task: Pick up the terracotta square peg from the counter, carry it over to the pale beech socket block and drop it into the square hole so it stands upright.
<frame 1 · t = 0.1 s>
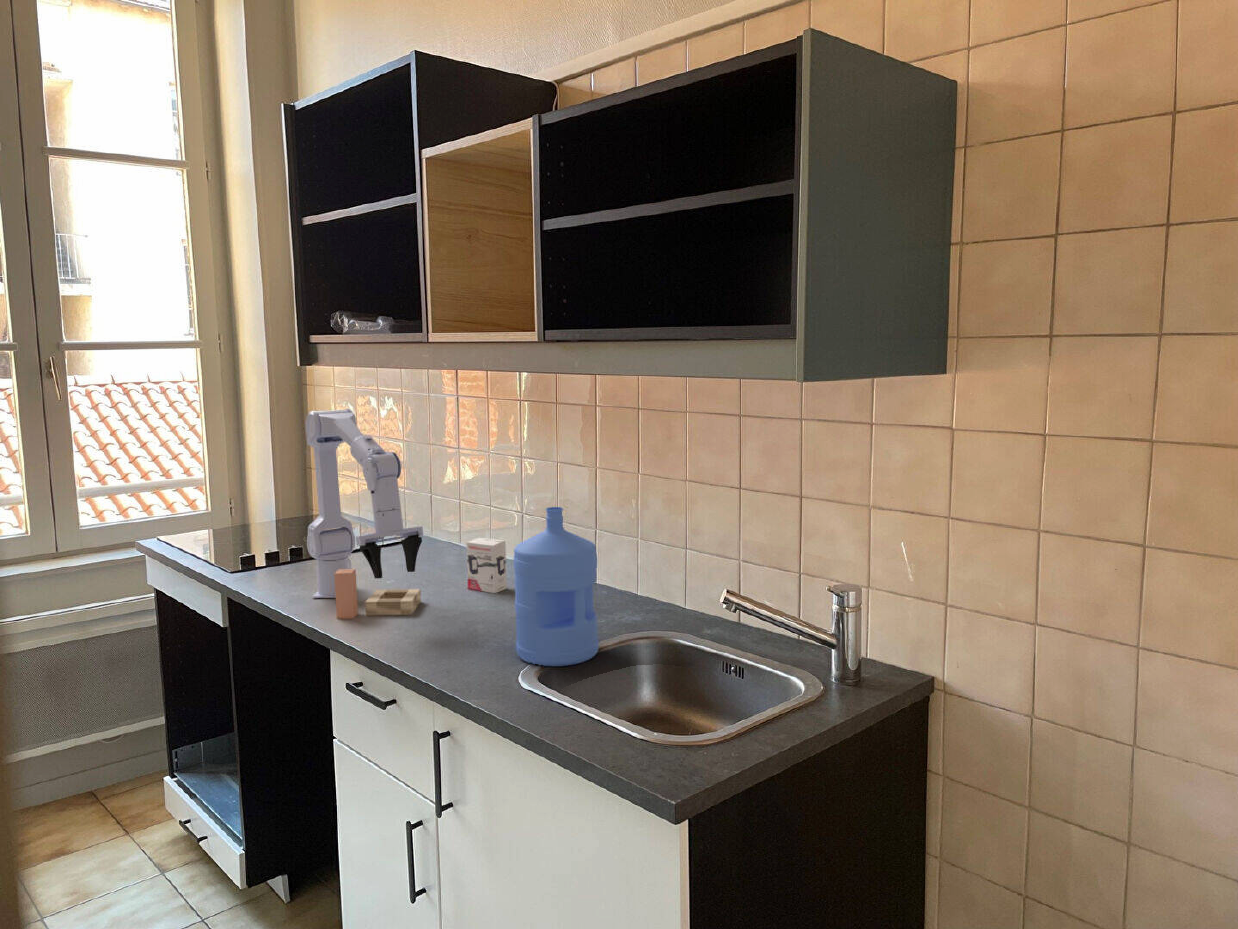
hand: (395, 574, 195), 11 cm above the worktop, tool pointing down, fingers open, 7 cm apart
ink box: (487, 589, 222), on the worktop
peg: (347, 616, 202), on the worktop
socket block: (394, 608, 207), on the worktop
water jug: (557, 654, 176), on the worktop
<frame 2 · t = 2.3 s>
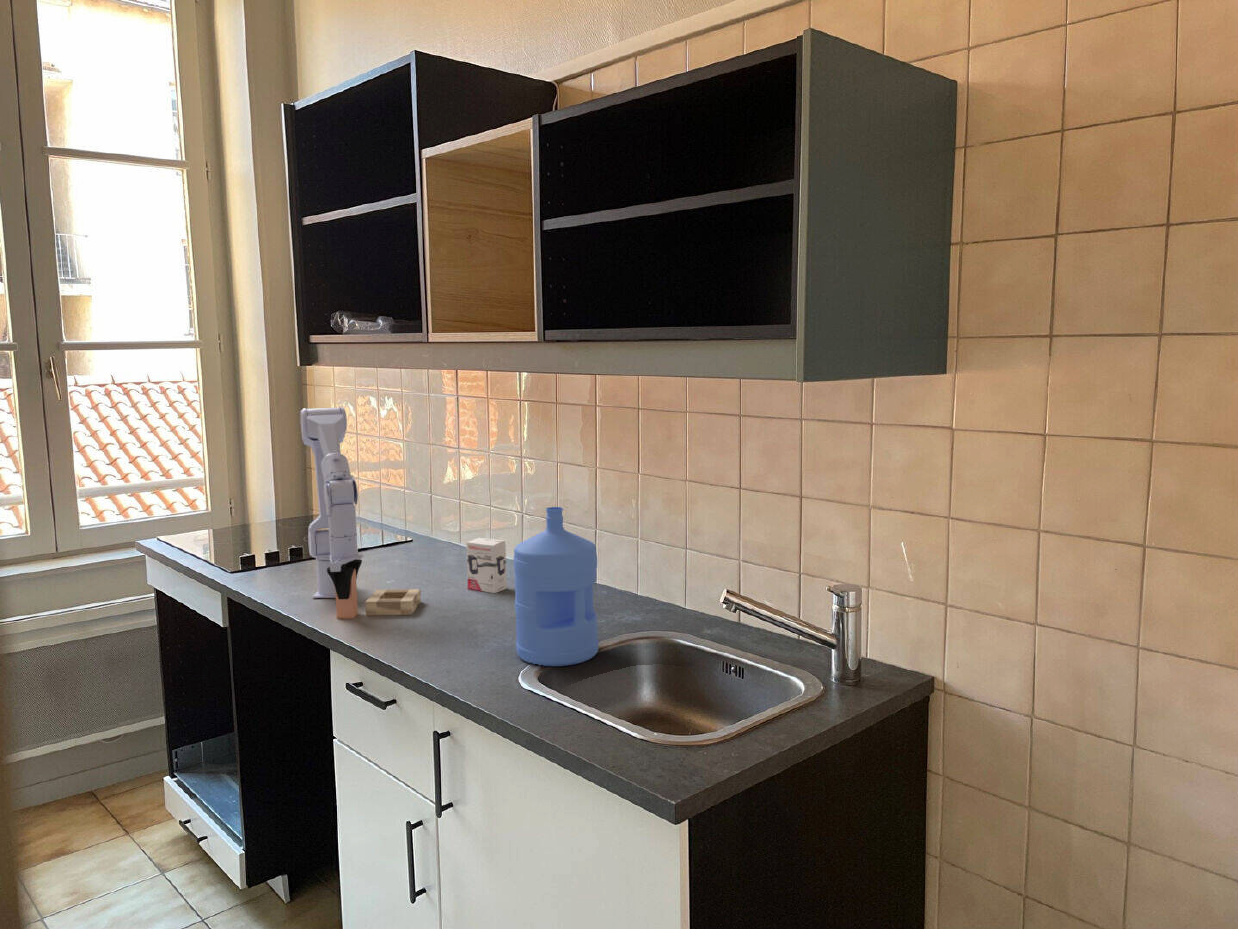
hand: (346, 596, 201), 4 cm above the worktop, tool pointing down, fingers closed on peg, 4 cm apart
peg: (347, 615, 202), on the worktop, touching gripper
everything else where it was.
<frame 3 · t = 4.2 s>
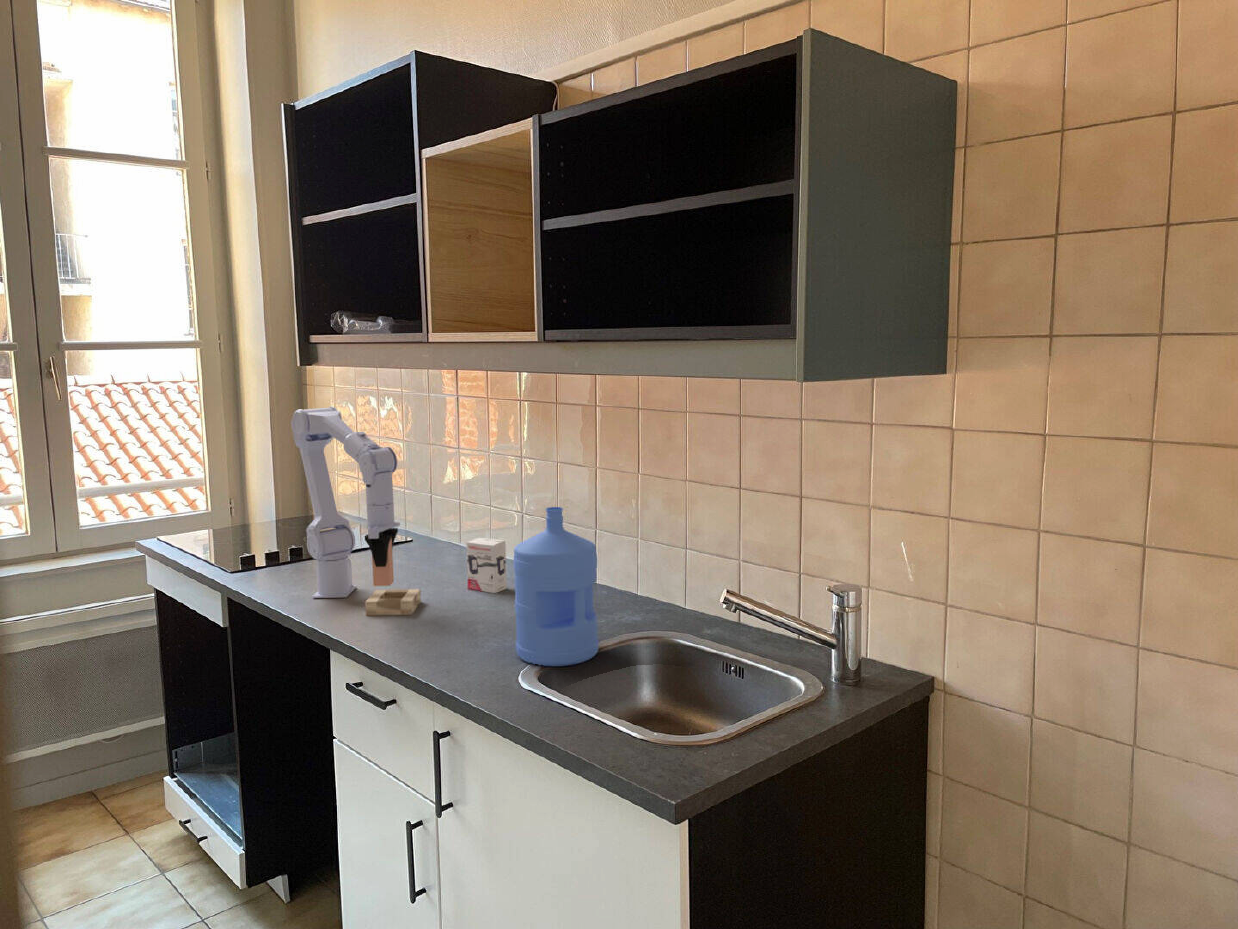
hand: (383, 564, 205), 10 cm above the worktop, tool pointing down, fingers closed on peg, 4 cm apart
peg: (383, 583, 205), point 6 cm above the worktop, touching gripper
everything else where it was.
when the fingers open (6 cm above the worktop, at t = 5.9 s): peg drops 1 cm, resting in socket block.
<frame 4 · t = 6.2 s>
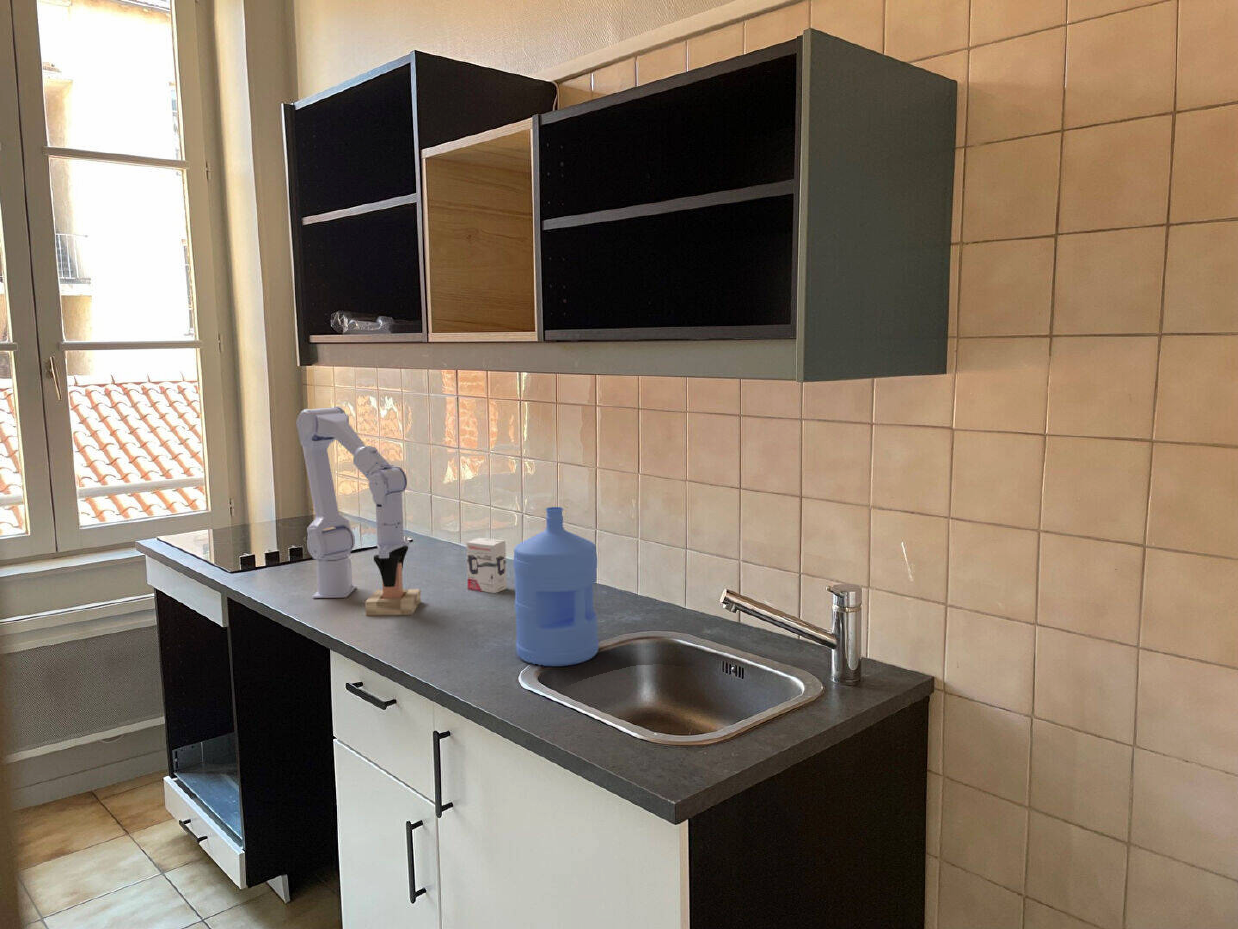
hand: (392, 582, 206), 6 cm above the worktop, tool pointing down, fingers open, 6 cm apart
peg: (393, 608, 207), resting in socket block
everything else where it was.
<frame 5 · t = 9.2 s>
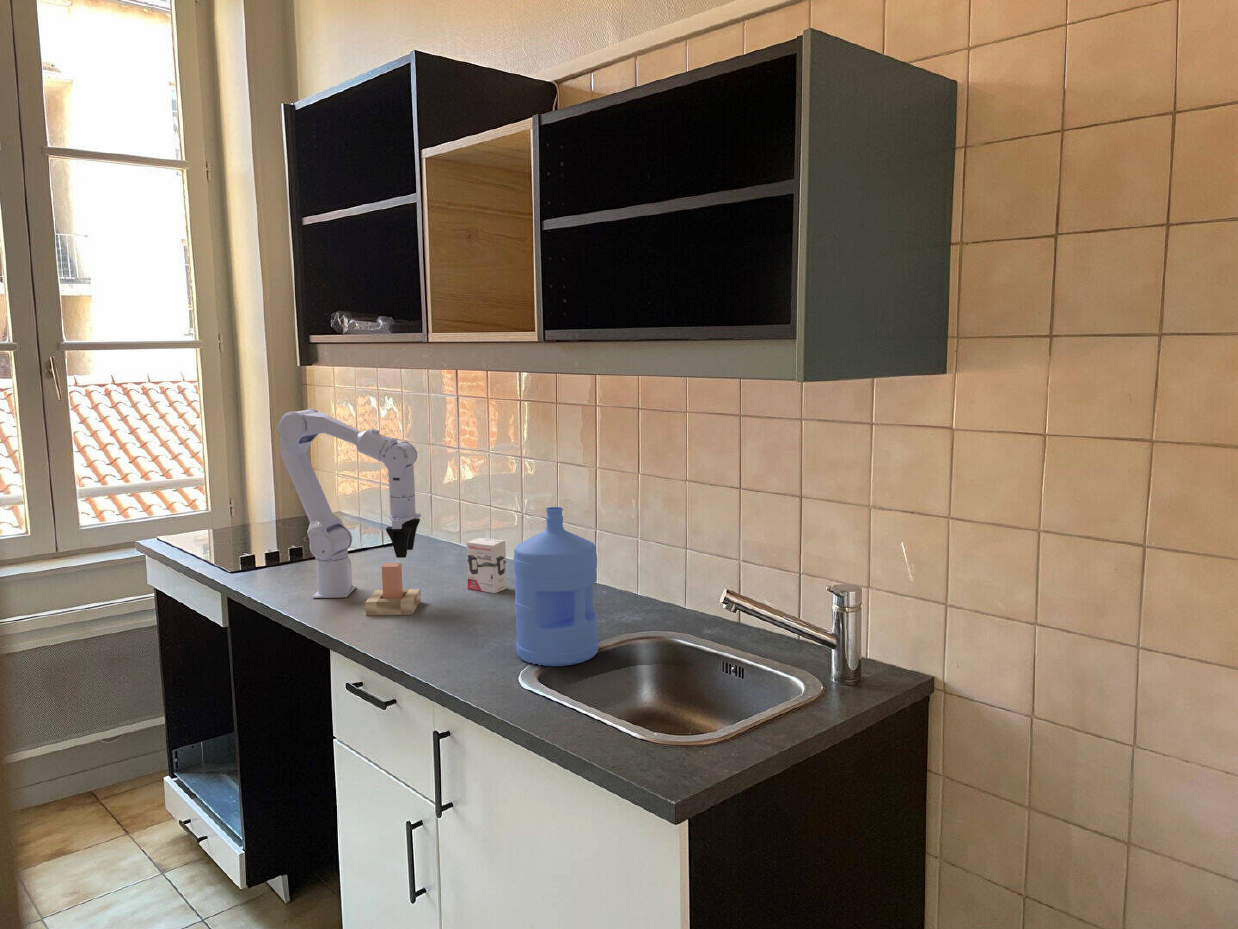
hand: (404, 553, 215), 10 cm above the worktop, tool pointing down, fingers open, 7 cm apart
nothing on the worktop moved.
at the end: peg 0.1 cm off-centre on the socket block, point 0.0 cm above the socket block's base; peg tilted 0°; the gripper is holding nothing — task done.
